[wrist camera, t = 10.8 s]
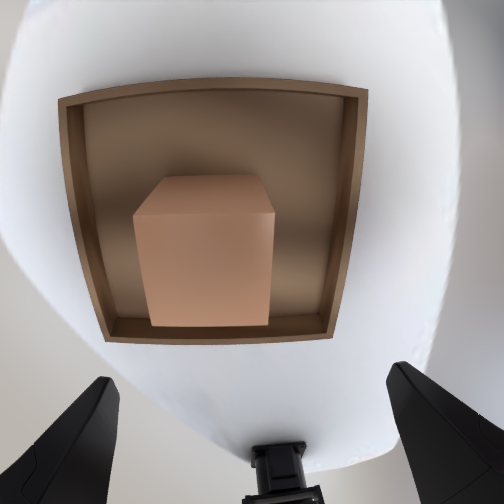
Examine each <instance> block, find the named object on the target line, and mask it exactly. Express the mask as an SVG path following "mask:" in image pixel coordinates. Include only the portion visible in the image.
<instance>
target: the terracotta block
mask: <svg viewBox="0 0 504 504" xmlns="http://www.w3.org/2000/svg"><path fill="white" fill-rule="evenodd" d="M133 222H134V230H135V237H136V244H137V250H138V257H139V263H140V268H141V274H142V280H143V285H144V290H145V295H146V300H147V305H148V310H149V315H150V319H151V324H152V326H178V327H213V326H256V325H268V319H269V304H270V289H271V274H272V257H273V240H274V222H275V212H274V209H273V207H272V205H271V203H270V200H269V198H268V196H267V193H266V191H265V189H264V187H263V184H262V182H261V180H260V178H259V175H199V176H171V177H164V178H163V179H162V180H161V181H160V183H159V184H158V185H157V186H156V187H155V189H154V190H153V191H152V192H151V193H150V195H149V196H148V197H147V198H146V200H145V201H144V202H143V203H142V205H141V206H140V207H139V208H138V210H137V211H136V212H135V213H134V215H133Z"/></svg>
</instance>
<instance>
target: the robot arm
mask: <svg viewBox="0 0 504 504" xmlns="http://www.w3.org/2000/svg"><path fill="white" fill-rule="evenodd" d="M386 386H387V390H388V394H389V398H390V402H391V406H392V410H393V415H394V419H395V422H396V426H397V429H398V432H399V434H400V437H401V440H402V443H403V446H404V449H405V452H406V455H407V458H408V461H409V465H410V468H411V471H412V474H413V478H414V481H415V484H416V488H417V491H418V494H419V498H420V502H421V504H504V430H502V429H501V428H499V427H497V426H496V425H494V424H493V423H491V422H490V421H488V420H487V419H485V418H484V417H483V416H481V415H480V414H479V415H478V413H477V412H476V411H474V410H473V409H471V408H470V407H469V406H467V405H466V404H464V403H463V402H461V401H460V400H459V399H458V398H456V397H454V396H453V395H452V394H451V393H449V392H448V391H446V390H445V389H443V388H442V387H441V386H439V385H438V384H437V383H435V382H434V381H433V380H431V379H430V378H428V377H427V376H426V375H424V374H423V373H421V372H420V371H419V370H417V369H416V368H414V367H413V366H412V365H410V364H409V363H408V362H406V361H400V362H396V363H394V364H393V365H392V367H391V370H390V372H389V374H388V376H387V379H386ZM119 401H120V397H119V392H118V390H117V388H116V386H115V384H114V381H113V380H112V378H110V377H103V376H100V377H98V378H97V379H96V380H95V381H94V382H93V383H92V384H91V385H90V386H89V387H88V388H87V389H86V390H85V391H84V392H83V393H82V394H81V395H80V396H79V397H78V398H77V399H76V400H75V401H74V402H73V403H72V404H71V405H70V406H69V407H68V408H67V409H66V410H65V411H64V412H63V413H62V414H61V415H60V416H59V418H58V419H57V420H56V421H55V422H54V423H53V424H52V425H51V426H50V427H49V428H48V429H47V430H46V431H45V432H44V433H43V434H42V435H41V436H40V437H39V438H38V439H37V440H36V441H35V442H34V445H32V446H31V447H29V449H28V450H27V451H26V452H25V453H24V454H23V455H22V456H21V457H20V458H19V459H18V460H17V461H15V462H14V463H13V464H12V465H11V466H10V467H9V468H8V469H6V470H5V471H4V472H3V473H1V474H0V504H106V503H107V495H108V488H109V481H110V474H111V468H112V462H113V456H114V450H115V444H116V438H117V425H118V412H119ZM305 448H306V443H305V442H301V443H293V444H283V445H273V446H259V447H253V448H252V454H251V467H252V468H256V475H257V485H258V495H253V496H250V495H246V496H245V499H242V504H325V503H324V499H323V496H322V492H321V489H320V485H316V486H314V487H308V488H307V487H306V481H305V476H304V471H303V466H302V461H301V459H302V456H303V454H304V451H305ZM312 499H314V501H313V500H312Z"/></svg>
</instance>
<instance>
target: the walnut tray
mask: <svg viewBox="0 0 504 504" xmlns="http://www.w3.org/2000/svg"><path fill="white" fill-rule="evenodd" d="M367 107H368V89H363V88H357V87H351V86H344V85H337V84H330V83H321V82H312V81H302V80H290V79H274V78H240V77H229V78H195V79H179V80H167V81H156V82H147V83H139V84H132V85H125V86H118V87H112V88H107V89H101V90H96V91H91V92H86V93H81V94H77V95H72V96H68V97H64V98H60V99H58V115H59V132H60V145H61V155H62V164H63V172H64V180H65V187H66V193H67V200H68V205H69V211H70V216H71V222H72V227H73V231H74V236H75V241H76V245H77V249H78V253H79V258H80V262H81V265H82V269H83V273H84V277H85V280H86V284H87V287H88V291H89V294H90V298H91V301H92V304H93V307H94V310H95V313H96V316H97V319H98V322H99V325H100V328H101V331H102V334H103V337H104V339H105V342H117V343H135V344H164V345H230V344H259V343H278V342H294V341H307V340H319V339H330V338H333V334H334V330H335V325H336V321H337V317H338V312H339V308H340V303H341V299H342V294H343V289H344V284H345V279H346V274H347V269H348V263H349V258H350V252H351V247H352V241H353V235H354V228H355V222H356V215H357V208H358V201H359V193H360V185H361V177H362V168H363V158H364V148H365V136H366V123H367ZM199 175H259V178H260V180H261V182H262V184H263V187H264V189H265V191H266V193H267V196H268V198H269V200H270V203H271V205H272V207H273V209H274V212H275V222H274V240H273V257H272V274H271V289H270V304H269V319H268V325H256V326H213V327H178V326H152V324H151V319H150V315H149V310H148V305H147V300H146V295H145V290H144V285H143V280H142V274H141V268H140V263H139V257H138V250H137V244H136V237H135V230H134V222H133V215H134V213H135V212H136V211H137V210H138V208H139V207H140V206H141V205H142V203H143V202H144V201H145V200H146V198H147V197H148V196H149V195H150V193H151V192H152V191H153V190H154V189H155V187H156V186H157V185H158V184H159V183H160V181H161V180H162V179H163V178H164V177H171V176H199Z"/></svg>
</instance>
